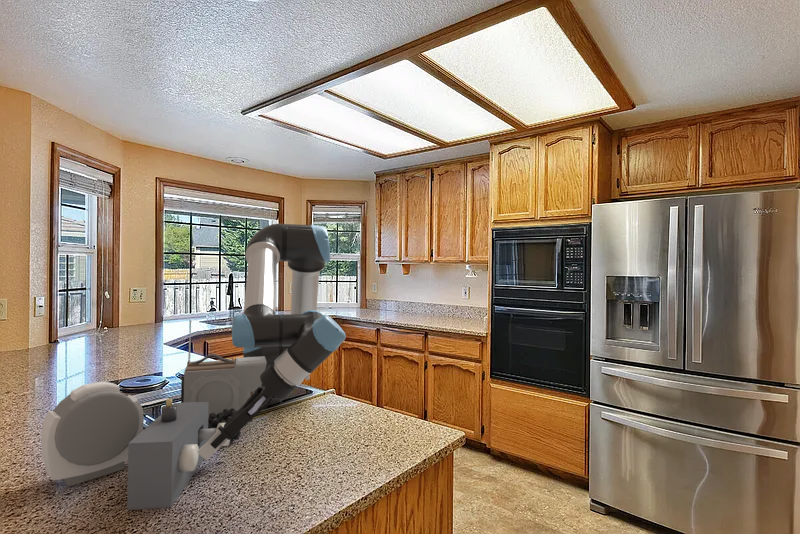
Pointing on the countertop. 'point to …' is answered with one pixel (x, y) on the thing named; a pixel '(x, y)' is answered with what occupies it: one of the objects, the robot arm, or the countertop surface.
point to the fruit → (222, 419)
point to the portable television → (221, 381)
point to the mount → (163, 457)
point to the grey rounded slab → (90, 433)
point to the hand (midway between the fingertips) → (203, 454)
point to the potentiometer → (168, 412)
